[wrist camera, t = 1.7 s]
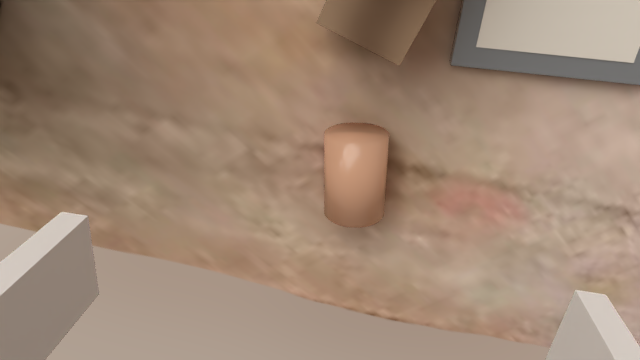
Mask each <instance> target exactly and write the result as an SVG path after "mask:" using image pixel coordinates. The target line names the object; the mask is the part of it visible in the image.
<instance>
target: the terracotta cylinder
mask: <svg viewBox="0 0 640 360" xmlns="http://www.w3.org/2000/svg"><path fill="white" fill-rule="evenodd" d="M388 146H389V132H388V131H387V130H386V129H384V128H382V127H380V126H377V125H373V124H368V123H342V124H337V125H334V126H331V127H329V128H328V129H326V130H325V133H324V213H325V216H326V217H327V218H328V219H329V220H330V221H331V222H333V223H335V224H338V225H341V226H345V227H366V226H371V225H373V224H376V223H377V222H379V221H380V220H381V219H382V218H383V216H384V206H385V191H386V176H387V161H388Z"/></svg>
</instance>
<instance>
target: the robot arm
mask: <svg viewBox="0 0 640 360" xmlns="http://www.w3.org/2000/svg"><path fill="white" fill-rule="evenodd" d="M98 295H99V290H98V283H97V276H96V269H95V262H94V254H93V247H92V240H91V233H90V226H89V219H88V216H86V215H80V214H73V213H66V212H61V213H59V214H58V215H57V216H56V217H54V218H53V219H52V220H51V221H50V222H48V223H47V224H46V225H45V226H43V227H42V228H41V229H40V230H39V231H37V232H36V233H35V234H34V235H33V236H31V237H30V238H29V239H28V240H26V241H25V242H24V243H23V244H22V245H20V246H19V247H18V248H17V249H16V250H15V251H13V252H12V253H11V254H9V255H8V256H7V257H6V258H5V259H3V260H2V261H1V262H0V360H46V358H47V357H48V356H49V355H50V353H51V352H52V351H53V350H54V349H55V347H56V346H57V345H58V344H59V342H60V341H61V340H62V339H63V338H64V336H65V335H66V334H67V333H68V331H69V330H70V329H71V328H72V327H73V325H74V324H75V323H76V322H77V320H78V319H79V318H80V317H81V316H82V314H83V313H84V312H85V311H86V309H87V308H88V307H89V306H90V305H91V303H92V302H93V301H94V299H95V298H96V297H97V296H98ZM545 360H640V347H639V345H638V344H637V342H636V340H635V339H634V337H633V336H632V334H631V333H630V331H629V330H628V328H627V327H626V325H625V323H624V322H623V320H622V319H621V317H620V316H619V314H618V313H617V311H616V310H615V308H614V307H613V305H612V303H611V302H610V300H609V299H608V297H607V296H606V295H605V294H599V293H592V292H586V291H579V290H575V292H574V294H573V297H572V299H571V301H570V303H569V306H568V308H567V310H566V313H565V315H564V317H563V319H562V322H561V324H560V326H559V329H558V331H557V333H556V335H555V338H554V340H553V342H552V345H551V347H550V349H549V351H548V354H547V356H546V358H545Z"/></svg>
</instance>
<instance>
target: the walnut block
mask: <svg viewBox="0 0 640 360" xmlns="http://www.w3.org/2000/svg"><path fill="white" fill-rule="evenodd" d="M435 2H436V0H326V2H325V5H324V7H323V9H322V11H321V13H320V16H319V18H318V20H317V22H316V23H317V24H319V25H321V26H323V27H325V28H327V29H329V30H331V31H332V32H334V33H336V34H338V35H340V36H342V37H344V38H346V39H348V40H350V41H352V42H354V43H356V44H358V45H359V46H361V47H363V48H365V49H367V50H369V51H371V52H373V53H375V54H377V55H379V56H381V57H383V58H385V59H386V60H388V61H390V62H392V63H394V64H396V65H398V66H400V64H401V62H402V61H403V59H404V57H405V55H406V53H407V52H408V50H409V48H410V46H411V45H412V43H413V41H414V39H415V37H416V36H417V34H418V32H419V30H420V28H421V27H422V25H423V23H424V21H425V20H426V18H427V16H428V14H429V12H430V11H431V9H432V7H433V5H434V4H435Z"/></svg>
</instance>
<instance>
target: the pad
mask: <svg viewBox="0 0 640 360" xmlns="http://www.w3.org/2000/svg"><path fill="white" fill-rule="evenodd" d="M450 65H453V66H463V67H472V68H482V69H491V70H501V71H511V72H520V73H530V74H539V75H549V76H558V77H568V78H578V79H587V80H597V81H606V82H616V83H625V84H635V85H640V0H462V4H461V9H460V14H459V18H458V23H457V28H456V33H455V38H454V43H453V48H452V53H451V58H450Z"/></svg>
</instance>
